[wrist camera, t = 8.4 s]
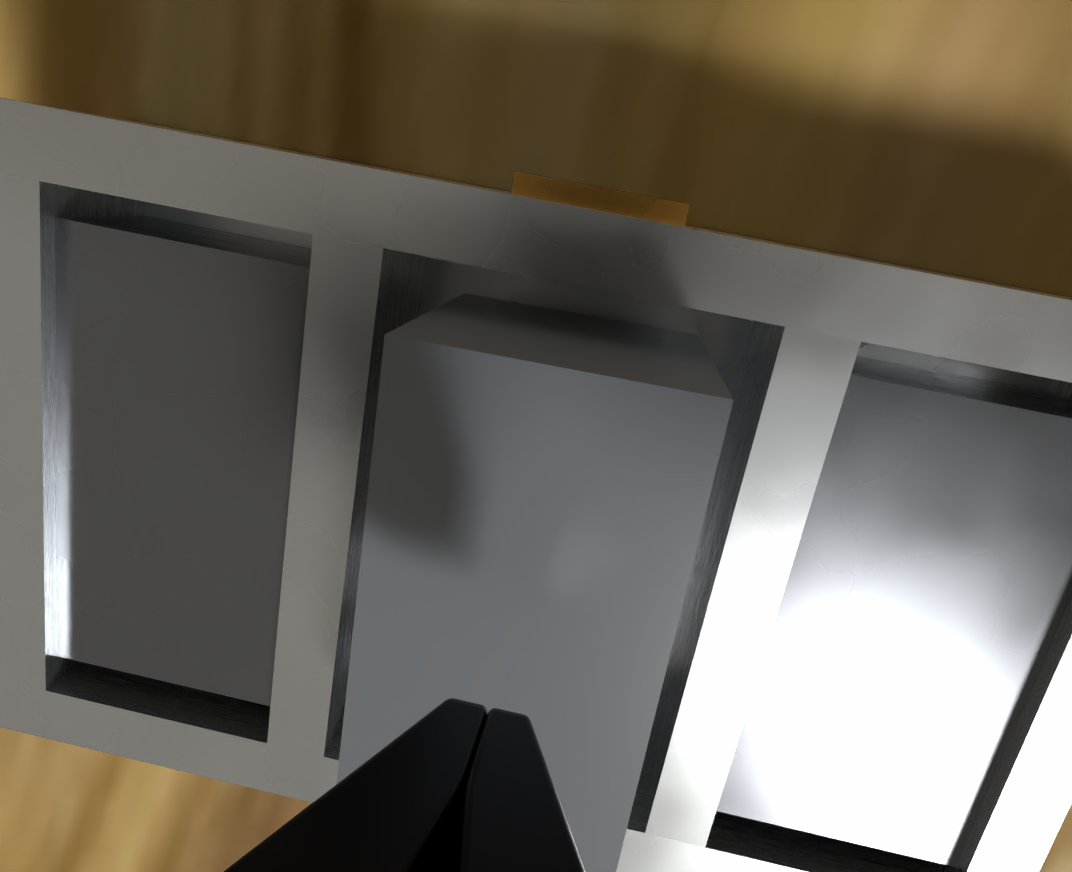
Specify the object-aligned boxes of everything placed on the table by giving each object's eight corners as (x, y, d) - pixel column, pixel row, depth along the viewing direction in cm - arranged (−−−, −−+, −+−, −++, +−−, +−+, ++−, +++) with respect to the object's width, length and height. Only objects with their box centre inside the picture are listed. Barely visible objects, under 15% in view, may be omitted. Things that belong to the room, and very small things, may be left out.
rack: (1129, 289, 13) (1302, 318, 10) (918, 809, 16) (993, 967, 13) (128, 101, 14) (-32, 68, 11) (117, 625, 17) (-7, 725, 14)
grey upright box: (700, 335, 13) (733, 399, 9) (618, 692, 15) (612, 885, 11) (465, 292, 13) (384, 334, 9) (417, 648, 15) (332, 821, 11)
